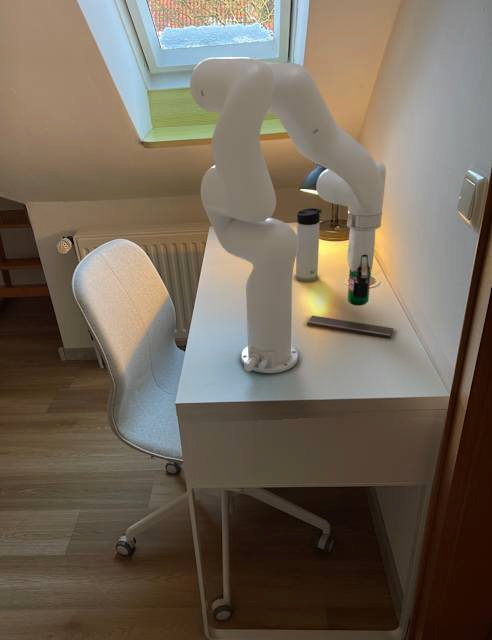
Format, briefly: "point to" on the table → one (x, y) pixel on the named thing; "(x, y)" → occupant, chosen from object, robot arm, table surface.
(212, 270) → the table surface
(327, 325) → the ruler
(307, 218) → the travel mug
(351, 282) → the soda can
